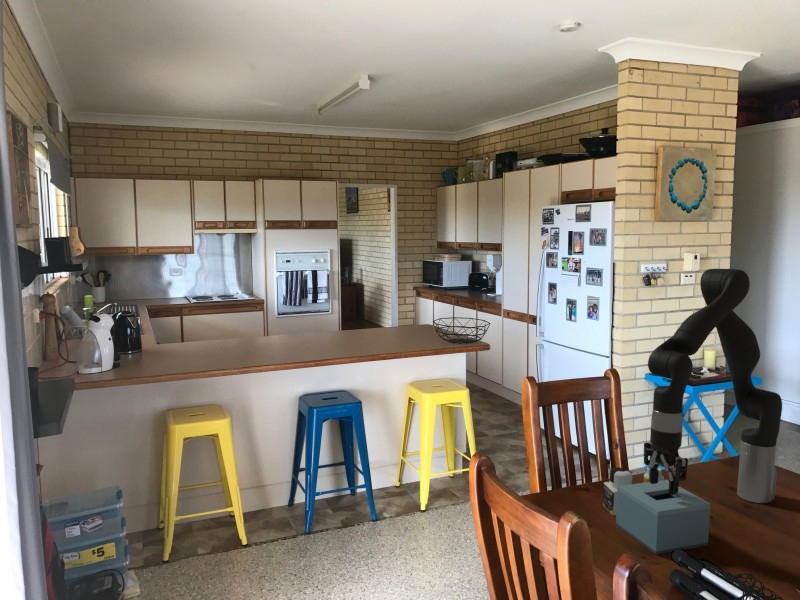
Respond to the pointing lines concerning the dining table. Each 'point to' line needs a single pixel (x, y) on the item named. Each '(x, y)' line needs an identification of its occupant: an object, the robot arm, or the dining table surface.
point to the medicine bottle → (615, 487)
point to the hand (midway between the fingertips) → (663, 488)
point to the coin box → (662, 517)
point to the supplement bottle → (646, 475)
